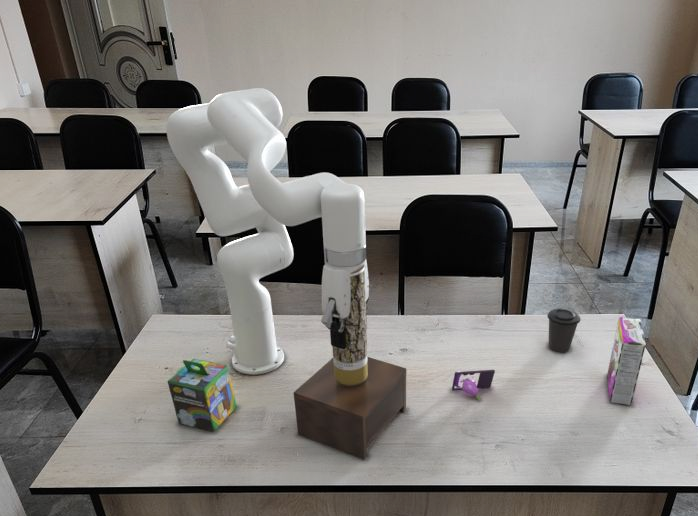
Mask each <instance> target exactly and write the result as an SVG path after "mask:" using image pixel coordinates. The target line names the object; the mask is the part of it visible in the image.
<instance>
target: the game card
mask: <svg viewBox="0 0 698 516" xmlns="http://www.w3.org/2000/svg"><path fill="white" fill-rule="evenodd" d="M495 373H496V371H495V369H483V370H482V369H481V370H467V371H465V370H464V371H460V370H457V371H454V374H453V380H452V386H451V391H463V392H464V393H465V394H466V395H468V396H475V398H476V399H477V401H480V396H479V391H480V389H490V388H491V387H492V384H493V380H494V376H495ZM475 374H479V375H478V380H477V381H475V380H474V379H472V378H464V379H462V380H461V381H460V379H461V376H468V375H469V376H474V375H475ZM459 383H460V384H461V383H462V387H461V386H459Z"/></svg>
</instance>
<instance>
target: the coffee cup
mask: <svg viewBox="0 0 698 516" xmlns="http://www.w3.org/2000/svg"><path fill="white" fill-rule="evenodd" d="M546 315H547V319H548V343H547V344H548V345H547V346H548V348H549V350H550V351H552V352H553V353H559V354H564V353H567V352H569V351H570V349H571V346H572V343H573V339H574V336H575V333H576V330H577V327H578V324H580V322H581V320H582V319H581V317H580V314H578V312H576V311H574V310H572V309H570V308H562V307H561V308H558V307H557V308H554V309H552V310H550V311H548V313H547V314H546Z"/></svg>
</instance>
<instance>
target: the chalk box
mask: <svg viewBox="0 0 698 516" xmlns="http://www.w3.org/2000/svg"><path fill="white" fill-rule="evenodd" d="M182 363H183V366H181V368H179V369H178V370H177V371H176V372H175V374H174V375H172V376H171V377H170V378H169V379H168V380H167V385H168V389H169V393H170V396H171V400H172V404H173V407H174V411H175V415H176V418H177V422H178V424H179V425H183V426H187V427H191V428H196V429H199V430H202V431H203V430H204V431H208V432H211V433H214V432H215V431H216V430H217V429H218V428H219V427H220V426H221V425H222V424H223V423H224V421H225V420H226V419H227V418H228V417H229V416H230V415H231V414H232V413H233V412H234V411H235V410H236V409H237V407H238V406H237V401H236V397H235V392H234V388H233V383H232V379H231V373H230V368H229V364H225V363H221V362H217V361H216V362H215V361H211V360H206V359H205V360H203V359H198V358H192V359H191V360H187V359H183V360H182Z"/></svg>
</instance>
